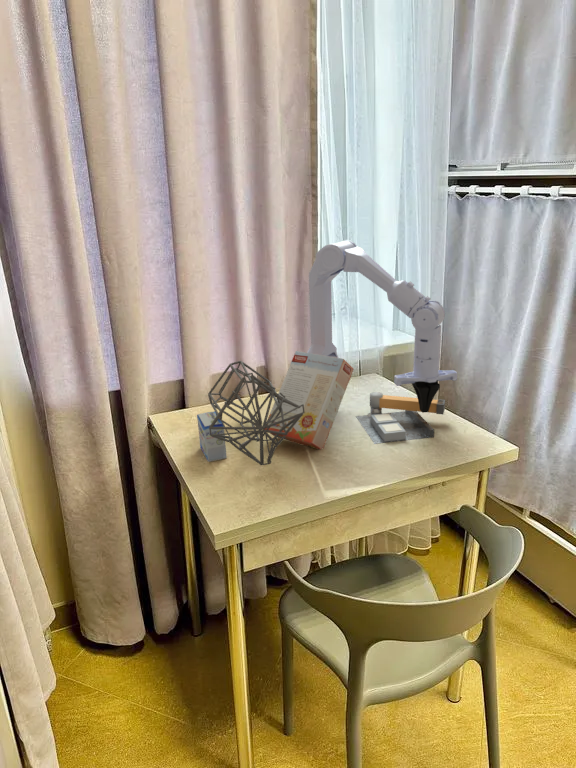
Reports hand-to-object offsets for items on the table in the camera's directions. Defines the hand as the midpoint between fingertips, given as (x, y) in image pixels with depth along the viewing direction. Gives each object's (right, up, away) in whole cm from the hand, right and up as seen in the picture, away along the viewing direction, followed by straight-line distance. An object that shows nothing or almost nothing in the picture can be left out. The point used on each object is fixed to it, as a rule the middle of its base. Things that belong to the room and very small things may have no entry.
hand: (424, 410), depth 129 cm
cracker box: (-31, -7, -4) cm, 32 cm away
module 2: (-8, -6, -3) cm, 10 cm away
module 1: (-9, -4, +3) cm, 10 cm away
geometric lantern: (-46, +5, +11) cm, 47 cm away
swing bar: (-3, 0, +5) cm, 6 cm away
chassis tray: (-7, -5, +3) cm, 9 cm away
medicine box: (-49, -10, -5) cm, 50 cm away
